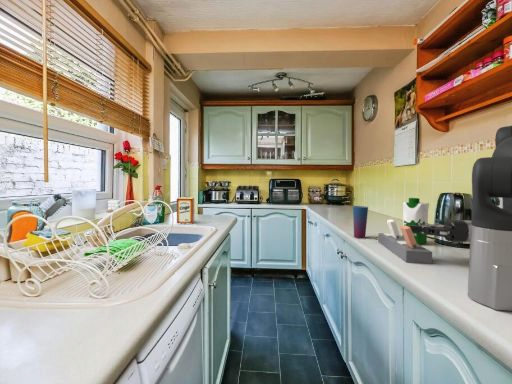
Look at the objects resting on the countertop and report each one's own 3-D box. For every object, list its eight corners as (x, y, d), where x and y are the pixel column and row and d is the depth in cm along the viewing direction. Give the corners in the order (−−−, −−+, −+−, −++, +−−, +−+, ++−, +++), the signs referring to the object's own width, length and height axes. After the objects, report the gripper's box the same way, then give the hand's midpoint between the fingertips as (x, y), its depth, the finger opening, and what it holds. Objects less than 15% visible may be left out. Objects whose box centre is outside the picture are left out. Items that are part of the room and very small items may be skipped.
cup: (368, 239, 117) (369, 207, 116) (353, 238, 118) (354, 207, 118) (365, 236, 124) (366, 206, 123) (350, 235, 125) (351, 205, 124)
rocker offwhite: (400, 237, 100) (394, 220, 100) (396, 238, 100) (390, 222, 100) (396, 235, 104) (390, 219, 104) (391, 236, 105) (386, 220, 105)
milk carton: (399, 241, 113) (400, 197, 112) (408, 239, 118) (410, 197, 117) (420, 246, 106) (422, 199, 105) (429, 243, 111) (431, 198, 110)
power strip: (431, 263, 83) (432, 251, 83) (405, 262, 84) (406, 249, 84) (390, 238, 118) (391, 229, 118) (373, 238, 119) (373, 229, 119)
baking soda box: (194, 221, 161) (194, 197, 160) (192, 223, 154) (192, 197, 154) (179, 222, 160) (179, 197, 159) (176, 223, 154) (176, 197, 153)
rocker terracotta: (417, 246, 86) (410, 227, 86) (412, 248, 87) (405, 229, 87) (411, 243, 91) (404, 225, 91) (406, 245, 91) (399, 226, 91)
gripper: (451, 217, 92) (401, 215, 95) (477, 223, 79) (418, 221, 82) (450, 237, 93) (400, 234, 95) (475, 247, 80) (416, 243, 82)
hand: (408, 228), depth 88 cm, fingers closed
